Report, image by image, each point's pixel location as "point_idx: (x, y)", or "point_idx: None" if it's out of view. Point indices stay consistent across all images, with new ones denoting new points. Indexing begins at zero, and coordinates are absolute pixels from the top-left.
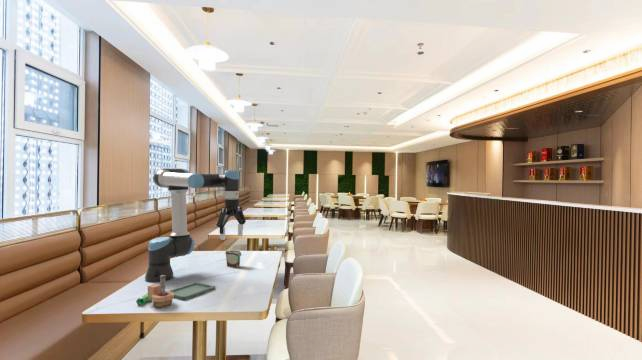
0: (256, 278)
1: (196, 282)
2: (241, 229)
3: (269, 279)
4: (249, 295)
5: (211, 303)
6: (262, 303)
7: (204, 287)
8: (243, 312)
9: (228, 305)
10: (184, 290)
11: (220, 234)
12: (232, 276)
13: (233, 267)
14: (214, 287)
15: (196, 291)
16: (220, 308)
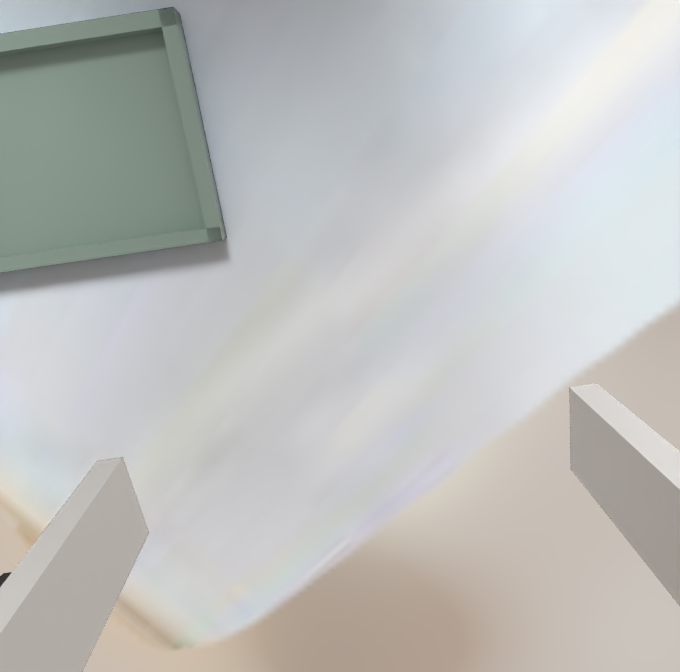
0: (572, 263)
1: (169, 28)
2: (644, 559)
3: (598, 351)
4: (294, 481)
5: (77, 431)
6: (260, 599)
7: (177, 163)
8: (131, 615)
9: None
10: (35, 105)
11: (52, 526)
12: (516, 57)
13: None
14: (216, 240)
15: (92, 199)
16: None
